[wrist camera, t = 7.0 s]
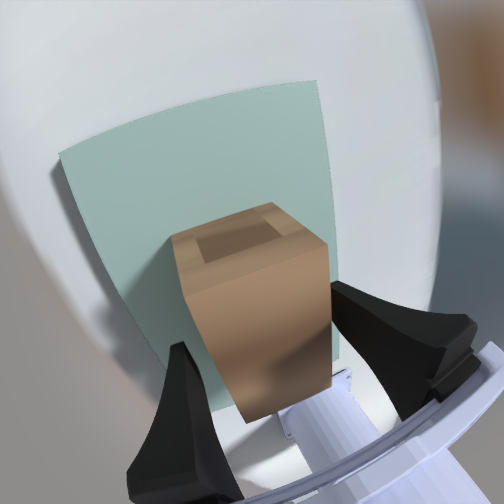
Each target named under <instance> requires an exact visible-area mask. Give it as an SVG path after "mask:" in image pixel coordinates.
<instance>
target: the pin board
mask: <svg viewBox="0 0 504 504" xmlns="http://www.w3.org/2000/svg"><path fill="white" fill-rule="evenodd" d="M58 154H59V157H60V160H61V163H62V166H63V169H64V172H65V174H66V177H67V180H68V183H69V185H70V188H71V191H72V193H73V196H74V199H75V201H76V204H77V206H78V209H79V211H80V213H81V216H82V218H83V221H84V223H85V225H86V227H87V230H88V232H89V234H90V236H91V239H92V241H93V243H94V245H95V247H96V249H97V252H98V254H99V256H100V258H101V260H102V262H103V264H104V266H105V268H106V270H107V272H108V274H109V276H110V278H111V280H112V281H113V283H114V285H115V287H116V289H117V291H118V293H119V295H120V296H121V298H122V300H123V302H124V304H125V305H126V307H127V309H128V311H129V312H130V314H131V316H132V317H133V319H134V321H135V322H136V324H137V326H138V327H139V329H140V331H141V332H142V334H143V336H144V337H145V339H146V340H147V342H148V344H149V345H150V347H151V348H152V350H153V351H154V353H155V354H156V356H157V357H158V359H159V360H160V362H161V363H162V365H163V366H164V368H165V369H166V371H167V367H168V360H169V352H170V346H171V345H173V344H176V343H179V342H181V341H184V343H185V345H186V346H187V348H188V350H189V352H190V354H191V355H192V357H193V359H194V361H195V363H196V364H197V366H198V368H199V371H200V374H201V377H202V380H203V383H204V386H205V390H206V395H207V399H208V404H209V408H210V412H214V411H217V410H220V409H223V408H226V407H228V406H231V405H234V404H235V403H234V401H233V399H232V397H231V395H230V393H229V391H228V389H227V387H226V386H225V384H224V382H223V380H222V378H221V376H220V374H219V372H218V370H217V368H216V366H215V364H214V362H213V360H212V358H211V356H210V353H209V351H208V349H207V347H206V345H205V343H204V341H203V339H202V337H201V335H200V332H199V330H198V328H197V326H196V324H195V321H194V319H193V317H192V315H191V313H190V310H189V308H188V306H187V303H186V301H185V299H184V296H183V291H182V287H181V283H180V278H179V274H178V269H177V264H176V259H175V255H174V250H173V245H172V240H171V235H173V234H176V233H179V232H181V231H184V230H187V229H190V228H193V227H196V226H199V225H202V224H205V223H208V222H210V221H213V220H216V219H219V218H222V217H225V216H229V215H232V214H235V213H238V212H241V211H244V210H247V209H250V208H253V207H256V206H260V205H263V204H266V203H269V202H273V203H274V204H275V205H277V206H278V207H279V208H281V209H282V210H284V211H285V212H286V213H288V214H289V215H290V216H292V217H293V218H294V219H296V220H297V221H298V222H300V223H301V224H302V225H303V226H305V227H306V228H307V229H309V230H310V231H311V232H313V233H314V234H315V235H317V236H318V237H319V238H320V239H322V240H323V241H324V242H326V243H327V244H328V253H329V269H330V283H331V282H334V281H336V280H338V258H337V241H336V226H335V214H334V203H333V192H332V183H331V174H330V165H329V157H328V150H327V142H326V135H325V129H324V122H323V116H322V110H321V104H320V98H319V93H318V87H317V82H316V80H315V81H306V82H297V83H289V84H281V85H275V86H268V87H262V88H256V89H251V90H245V91H240V92H235V93H231V94H226V95H222V96H217V97H213V98H209V99H205V100H201V101H197V102H193V103H189V104H186V105H182V106H179V107H175V108H172V109H169V110H165V111H162V112H159V113H156V114H153V115H150V116H147V117H144V118H141V119H138V120H135V121H133V122H130V123H127V124H124V125H122V126H119V127H117V128H114V129H111V130H109V131H106V132H104V133H102V134H99V135H97V136H94V137H92V138H90V139H88V140H85V141H83V142H81V143H79V144H76V145H74V146H72V147H70V148H68V149H66V150H64V151H62V152H60V153H58ZM337 359H339V330H338V329H337V328H336V326H335V325H334V323H333V322H332V362H333V361H335V360H337Z"/></svg>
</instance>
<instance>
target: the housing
mask: <svg viewBox="0 0 504 504" xmlns="http://www.w3.org/2000/svg"><path fill="white" fill-rule="evenodd" d="M171 240H172V245H173V250H174V255H175V259H176V264H177V269H178V274H179V278H180V283H181V287H182V291H183V296H184V299H185V301H186V303H187V306H188V308H189V310H190V313H191V315H192V317H193V319H194V321H195V324H196V326H197V328H198V330H199V332H200V335H201V337H202V339H203V341H204V343H205V345H206V347H207V349H208V351H209V353H210V356H211V358H212V360H213V362H214V364H215V366H216V368H217V370H218V372H219V374H220V376H221V378H222V380H223V382H224V384H225V386H226V387H227V389H228V391H229V393H230V395H231V397H232V399H233V401H234V403H235V404H236V406H237V408H238V410H239V412H240V414H241V415H242V417H243V419H244V421H245V423H246V424H247V423H250V422H253V421H256V420H258V419H261V418H263V417H266V416H268V415H271V414H273V413H276V412H278V411H281V410H283V409H285V408H288V407H290V406H292V405H294V404H297V403H299V402H301V401H303V400H305V399H308V398H310V397H312V396H314V395H316V394H318V393H320V392H322V391H324V390H326V389H328V388H330V387H332V315H331V288H330V269H329V253H328V244H327V243H326V242H324V241H323V240H322V239H320V238H319V237H318V236H317V235H315V234H314V233H313V232H311V231H310V230H309V229H307V228H306V227H305V226H303V225H302V224H301V223H300V222H298V221H297V220H296V219H294V218H293V217H292V216H290V215H289V214H288V213H286V212H285V211H284V210H282V209H281V208H279V207H278V206H277V205H275V204H274V203H273V202H269V203H266V204H263V205H260V206H256V207H253V208H250V209H247V210H244V211H241V212H238V213H235V214H232V215H229V216H225V217H222V218H219V219H216V220H213V221H210V222H208V223H205V224H202V225H199V226H196V227H193V228H190V229H187V230H184V231H181V232H179V233H176V234H173V235H171Z"/></svg>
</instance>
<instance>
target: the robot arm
mask: <svg viewBox="0 0 504 504" xmlns="http://www.w3.org/2000/svg"><path fill="white" fill-rule="evenodd" d="M330 288H331V315H332V322H333V323H334V325H335V326H336V328H337V329H338V330H339V332H340V333H341V334H342V335H343V336H344V337H345V339H346V340H347V341H348V342H349V343H350V344H351V345H352V346H353V348H354V349H355V350H356V351H357V352H358V353H359V354H360V356H361V357H362V358H363V359H364V360H365V361H366V363H367V364H368V365H369V367H370V368H371V370H372V371H373V373H374V374H375V376H376V377H377V379H378V380H379V382H380V383H381V385H382V386H383V388H384V390H385V391H386V393H387V395H388V396H389V398H390V400H391V402H392V403H393V405H394V407H395V409H396V411H397V413H398V415H399V417H400V419H401V421H402V423H401V424H399V425H398V426H396V427H395V428H393V429H392V430H390V431H389V432H387V433H386V434H384V435H383V436H382V435H381V434H380V432H379V431H378V430H377V428H376V427H375V426H374V424H373V423H372V422H371V420H370V419H369V417H368V416H367V415H366V413H365V412H364V411H363V409H362V408H361V407H360V405H359V404H358V402H357V401H356V400H355V398H354V397H353V396H352V394H351V393H350V388H351V379H352V370H351V369H346V370H344V371H342V372H340V373H338V374H337V375H335V376H333V377H332V387H330V388H328V389H326V390H324V391H322V392H320V393H318V394H316V395H314V396H312V397H310V398H308V399H305V400H303V401H301V402H299V403H297V404H294V405H292V406H290V407H288V408H285V409H283V410H281V411H278V412H277V413H278V416H279V419H280V422H281V425H282V428H283V431H284V434H285V437H286V439H287V440H289V439H292V438H294V439H295V441H296V443H297V445H298V447H299V449H300V451H301V453H302V454H303V456H304V458H305V460H306V462H307V464H308V465H309V467H310V469H311V471H312V473H313V474H311V475H309V476H306V477H304V478H302V479H299V480H297V481H295V482H292V483H290V484H287V485H285V486H282V487H279V488H277V489H274V490H271V491H269V492H266V493H263V494H260V495H257V496H254V497H251V498H247V499H245V498H244V496H243V495H242V493H241V491H240V489H239V487H238V484H237V483H236V480H235V478H234V476H233V474H232V471H231V469H230V467H229V465H228V462H227V460H226V457H225V455H224V453H223V450H222V448H221V445H220V442H219V440H218V437H217V434H216V432H215V428H214V425H213V421H212V417H211V412H210V408H209V404H208V399H207V395H206V390H205V386H204V383H203V380H202V377H201V374H200V371H199V368H198V366H197V364H196V363H195V361H194V359H193V357H192V355H191V354H190V352H189V350H188V348H187V346H186V345H185V343H184V341H181V342H179V343H176V344H173V345H171V346H170V352H169V360H168V367H167V373H166V378H165V383H164V387H163V391H162V395H161V399H160V403H159V406H158V409H157V412H156V415H155V418H154V421H153V423H152V426H151V428H150V431H149V433H148V435H147V437H146V439H145V442H144V443H143V445H142V447H141V449H140V451H139V453H138V455H137V456H136V458H135V459H134V461H133V462H132V464H131V466H130V467H129V469H128V470H127V487H128V494H129V499H130V500H131V501H132V502H133V503H135V504H294V503H293V502H288V501H291V500H293V499H296V498H298V497H301V496H303V495H306V494H308V493H310V492H313V491H315V490H318V492H319V493H318V494H316V495H314V496H312V497H310V498H308V499H306V500H303V501H301V502H299V503H297V504H491V503H490V502H489V501H488V499H487V498H486V497H485V496H484V494H483V493H482V492H481V490H480V489H479V488H478V487H477V485H476V484H475V483H474V482H473V480H472V479H471V478H470V477H469V475H468V474H467V473H466V472H465V470H464V469H463V468H462V467H461V465H460V464H459V463H458V462H457V460H456V459H455V458H454V457H453V455H452V454H451V453H450V452H449V451H448V448H449V447H450V446H451V445H452V444H453V443H454V442H455V441H456V440H457V439H459V438H460V437H461V436H462V435H463V433H465V432H466V431H467V430H468V429H469V428H470V427H471V426H472V425H473V424H474V423H475V422H476V421H477V420H478V419H479V417H480V416H481V415H482V414H483V413H484V412H485V411H486V410H487V409H488V408H489V407H490V405H491V404H492V403H493V402H494V401H495V400H496V399H497V397H498V396H499V395H500V394H501V393H502V391H503V390H504V352H503V351H502V350H500V349H499V348H498V347H497V346H496V345H495V344H494V343H493V342H492V341H489V343H488V344H487V345H486V346H485V347H484V348H483V349H482V350H481V351H480V352H479V353H478V355H477V356H476V357H475V356H474V355H473V352H474V350H473V349H472V348H471V347H470V345H471V343H472V341H473V339H474V337H475V334H476V332H477V323H476V322H474V321H473V320H472V319H471V318H469V317H468V316H467V315H466V314H442V313H432V312H426V311H420V310H415V309H411V308H407V307H403V306H399V305H396V304H393V303H390V302H387V301H384V300H382V299H379V298H377V297H374V296H372V295H369V294H367V293H365V292H362V291H360V290H358V289H356V288H354V287H351V286H349V285H347V284H345V283H343V282H340V281H338V280H336V281H334V282H331V283H330ZM404 439H405V441H404V442H403V443H401V444H400V445H398V446H397V447H396V448H395V447H394V446H395V445H397V444H398V443H400V442H401V441H403V440H404ZM286 502H287V503H286Z"/></svg>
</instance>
